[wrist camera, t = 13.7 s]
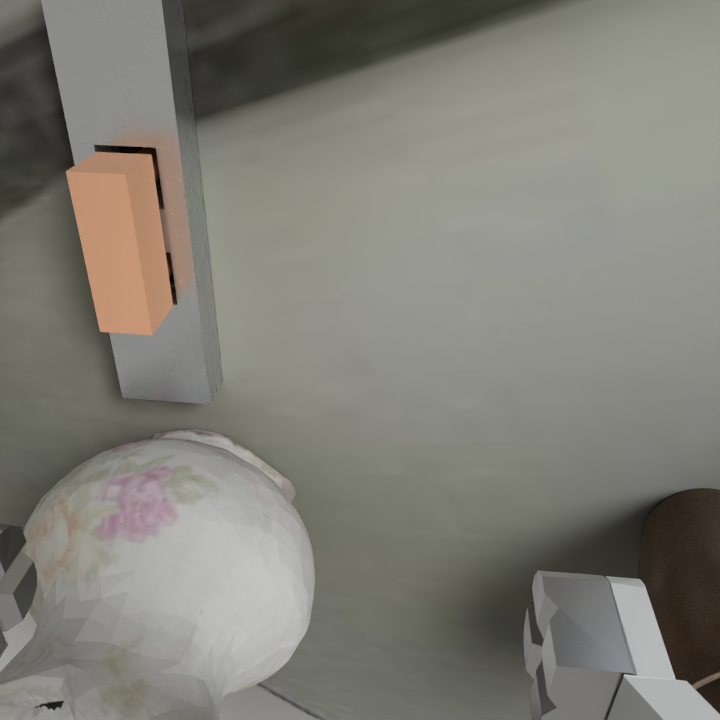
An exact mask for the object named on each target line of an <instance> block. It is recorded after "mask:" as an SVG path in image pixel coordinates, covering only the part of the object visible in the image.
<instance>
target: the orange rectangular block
mask: <svg viewBox="0 0 720 720" xmlns="http://www.w3.org/2000/svg"><path fill="white" fill-rule="evenodd" d="M66 175H67V179H68V184H69V189H70V194H71V198H72V203H73V208H74V212H75V217H76V222H77V226H78V231H79V236H80V240H81V245H82V250H83V255H84V259H85V264H86V269H87V273H88V278H89V283H90V287H91V292H92V297H93V301H94V306H95V311H96V316H97V320H98V325H99V330H100V332H110V333H124V334H139V335H153V334H154V332H155V331H156V330H157V328H158V327H159V325H160V324H161V323H162V321H163V320H164V318H165V317H166V316H167V314H168V313H169V311H170V310H171V309H172V307H173V302H172V295H171V288H170V281H169V277H170V275H171V274H172V273H173V268H172V261H171V254H170V253H167V252H165V246H164V239H163V232H162V225H161V218H160V211H159V204H158V197H157V190H156V183H155V181H156V180H158V179H159V178H160V175H159V168H158V161H157V154H156V149H155V148H152V147H146V148H143V149H141V150H140V151H139V152H137V153H136V154H130V153H109V152H95V153H94V154H92V155H91V156H89V157H88V158H86V159H84V160H83V161H81V162H80V163H78V164H77V165H75V166H73V167H72V168H70V169H69V170H67V171H66Z"/></svg>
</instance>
